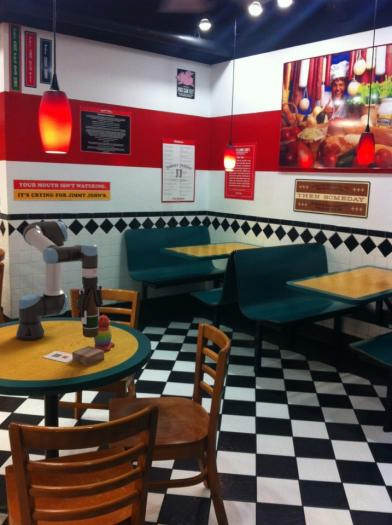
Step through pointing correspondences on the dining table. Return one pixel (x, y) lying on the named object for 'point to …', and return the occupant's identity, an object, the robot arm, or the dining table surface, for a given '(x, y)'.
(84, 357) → the walnut base brick
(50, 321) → the dining table surface
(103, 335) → the stacking bear
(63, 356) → the page
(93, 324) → the beer bottle
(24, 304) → the robot arm
